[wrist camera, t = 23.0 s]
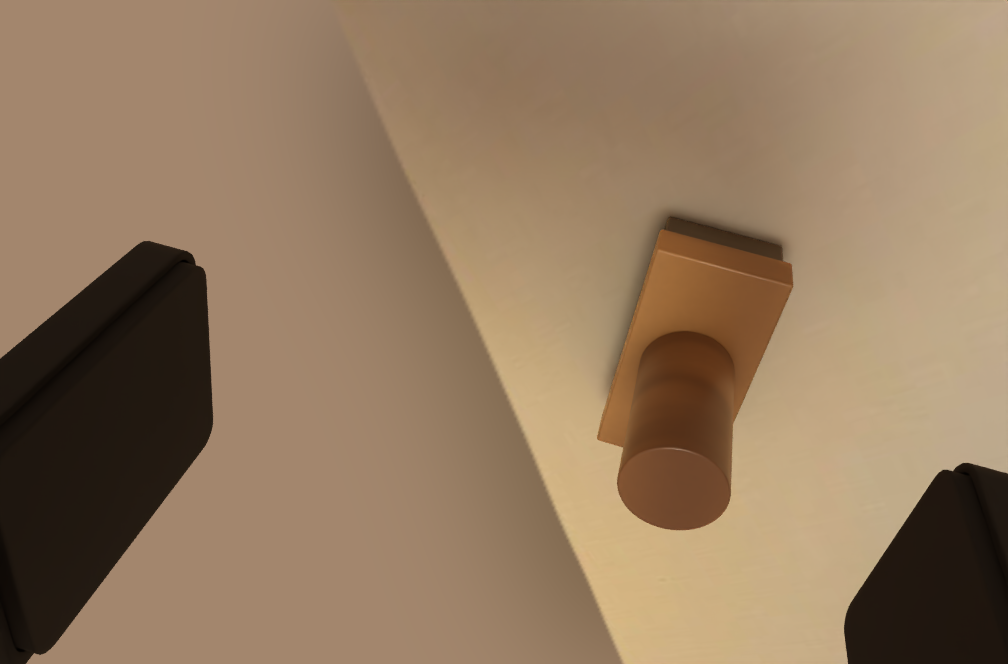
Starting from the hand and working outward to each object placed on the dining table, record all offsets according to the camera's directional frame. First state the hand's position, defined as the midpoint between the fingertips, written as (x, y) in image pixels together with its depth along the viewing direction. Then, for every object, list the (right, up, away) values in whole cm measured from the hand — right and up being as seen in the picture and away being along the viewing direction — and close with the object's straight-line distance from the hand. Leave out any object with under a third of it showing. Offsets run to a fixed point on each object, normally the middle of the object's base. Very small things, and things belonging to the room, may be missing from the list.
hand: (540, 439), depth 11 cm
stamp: (+7, +2, +21) cm, 22 cm away
